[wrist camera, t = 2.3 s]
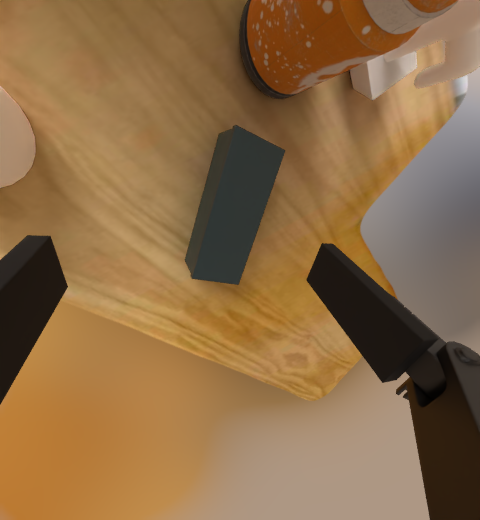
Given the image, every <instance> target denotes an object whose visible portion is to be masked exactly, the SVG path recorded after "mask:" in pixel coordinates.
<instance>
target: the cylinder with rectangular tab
mask: <svg viewBox="0 0 480 520" xmlns="http://www.w3.org/2000/svg"><path fill="white" fill-rule="evenodd" d="M35 154H36V146H35V136H34V134H33V131H32V128H31V125H30V122H29V120H28V119H27V117H26V116H25V114H24V112H23V111H22V109H21V108H20V106H19V105H18V104H17V102H16V101H15V100H14V99H13V98H12V97H11V96H10V95H9V94H8V93H7V92H6V91H5V90H4V89H3V88H2V87H1V86H0V188H2V187H6V186H9V185H12V184H14V183H15V182H17V181H18V180H20V179H21V178H23V177H24V176H25V175H26V174H27V172H28V171H29V170H30V168H31V167H32V165H33V161H34V158H35Z"/></svg>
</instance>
